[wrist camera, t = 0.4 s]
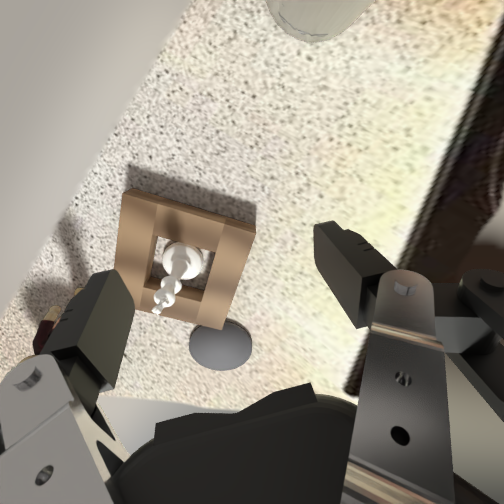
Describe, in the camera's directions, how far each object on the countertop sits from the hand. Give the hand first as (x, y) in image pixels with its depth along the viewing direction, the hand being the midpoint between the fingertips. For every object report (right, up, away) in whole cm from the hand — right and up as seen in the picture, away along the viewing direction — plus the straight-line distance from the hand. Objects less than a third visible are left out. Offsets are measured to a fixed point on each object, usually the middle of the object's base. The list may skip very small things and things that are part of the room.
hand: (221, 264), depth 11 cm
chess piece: (-7, 0, +22) cm, 23 cm away
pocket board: (-7, -1, +21) cm, 23 cm away
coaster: (-3, -13, +27) cm, 31 cm away
